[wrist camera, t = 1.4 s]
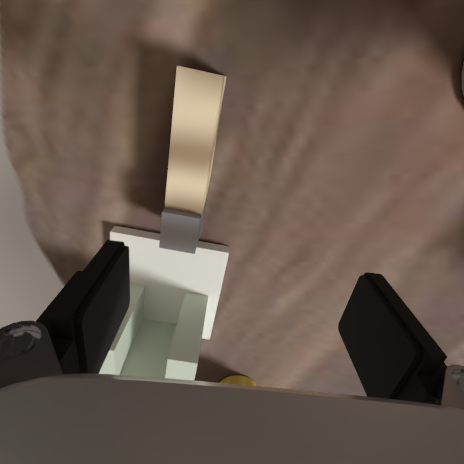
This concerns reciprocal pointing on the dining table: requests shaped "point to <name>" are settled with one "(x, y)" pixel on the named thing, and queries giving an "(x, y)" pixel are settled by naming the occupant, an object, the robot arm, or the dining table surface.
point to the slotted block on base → (165, 307)
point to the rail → (190, 156)
